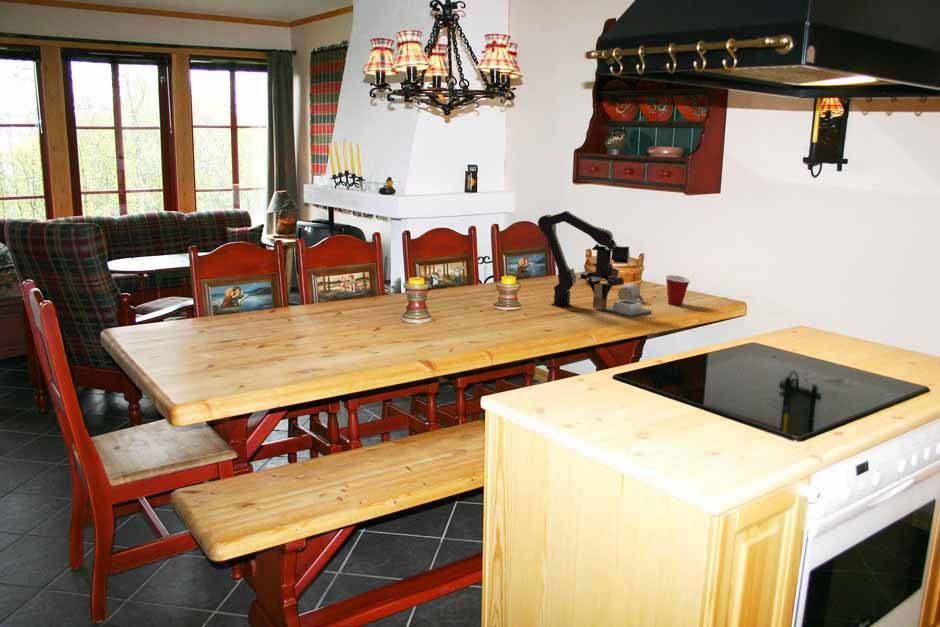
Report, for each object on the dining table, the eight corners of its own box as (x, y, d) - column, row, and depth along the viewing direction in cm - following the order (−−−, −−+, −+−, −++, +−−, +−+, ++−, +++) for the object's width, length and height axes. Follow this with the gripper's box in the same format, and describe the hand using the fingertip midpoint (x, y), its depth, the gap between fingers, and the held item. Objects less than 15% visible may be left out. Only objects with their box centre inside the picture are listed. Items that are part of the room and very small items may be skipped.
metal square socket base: (630, 317, 309) (631, 307, 308) (603, 310, 319) (603, 301, 318) (651, 313, 318) (652, 303, 317) (624, 306, 328) (625, 297, 327)
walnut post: (600, 309, 318) (602, 285, 315) (592, 307, 320) (594, 284, 318) (606, 308, 320) (608, 284, 318) (598, 306, 323) (600, 283, 321)
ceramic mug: (615, 300, 338) (617, 283, 336) (624, 298, 345) (625, 281, 343) (638, 305, 332) (639, 287, 330) (646, 302, 339) (647, 285, 337)
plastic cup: (683, 308, 328) (686, 280, 325) (659, 304, 334) (662, 277, 331) (691, 304, 337) (694, 277, 334) (667, 300, 343) (670, 274, 340)
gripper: (633, 263, 314) (630, 300, 318) (598, 256, 328) (595, 292, 331) (616, 265, 307) (613, 303, 310) (580, 258, 320) (578, 295, 324)
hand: (600, 298), depth 319 cm, fingers closed on walnut post, 4 cm apart
